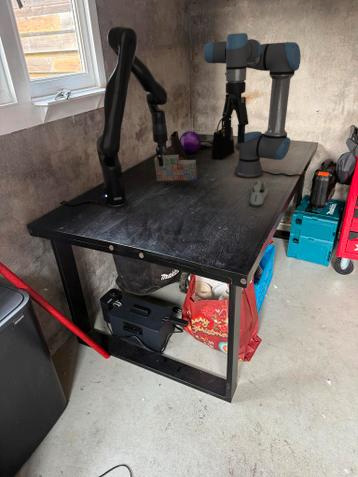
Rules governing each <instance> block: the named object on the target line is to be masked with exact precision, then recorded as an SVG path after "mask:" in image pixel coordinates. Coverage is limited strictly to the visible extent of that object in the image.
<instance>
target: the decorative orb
mask: <svg viewBox="0 0 358 477" xmlns="http://www.w3.org/2000/svg"><path fill="white" fill-rule="evenodd" d="M201 140H202V139H201V137H200V135H199V134H198V133H197V132H195V131H192V130H187V131H185V132H184V133H182V135H181V136H180V137H179V141H180V144H181V148H182V151H184V152H185V153H186V154H194V153H196V152H197V151H198V150H199V149H201V148H200V145H201Z"/></svg>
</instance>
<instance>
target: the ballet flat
mask: <svg viewBox="0 0 358 477" xmlns="http://www.w3.org/2000/svg"><path fill="white" fill-rule="evenodd" d="M268 194H269V189H268V186H267V183H266V182H265V181H264V180H262V179H257V180H255V181H254V182H253V184H252V187H251V190H250V196H249V204H250V205H251V206H252V207H260V206H261V205H263V203H264V201H265V198H266V196H267V195H268Z"/></svg>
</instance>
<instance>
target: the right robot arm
mask: <svg viewBox="0 0 358 477" xmlns="http://www.w3.org/2000/svg"><path fill="white" fill-rule="evenodd" d="M203 58H204V61H205V62H206V63H207V64H225V72H224V75H225V81H226V83H225V100H224V103H223V104H224V105H223V108H222V109H223V110H222V115H221V117H224V119H225V126H224V136H230V135H231V127H232V119H233V117H232V115H233V112H234V111H235V114H236V119H237V122H238V124H237V140H236V143H239V150H238V162H237V165H236V166H234V169H235V170H234V174H235V176H236V177H239V178H243V179H255V178H259V177H261V176H262V175H263V174H268V175H272V176H280V175H281V176H286V177H301V178H305V177H304V175H302V174H300V173H295V174H287V173H285V172H278V173H274V172H270V171H265V170H263V169H262V165H261V159H267V160H268V159H269V160H274V161H275V160H276V161H282V160H284V159H285V157H286V156H287V154H288V152H289V150H290V146H291V138H290V137H288V132H287V131H286V121H287V113H288V106H289V96H290V87H291V79H292V78H293V77H294V76H295V73H296V71H298V70H299V69H300V65H301V49H300V46H299V44H298V43H297V42H293V41H284V42H271V43H269V42H268V43H262V44H261V42H260V41H259V40H257V39H254V38H249V35H248V34H247V33H246V32H241V33H240V32H238V33H229V34H227V36H226V41H211V42H207V43H206V44H205V45H204V48H203ZM247 69H252V70H257V71H260V72H261V71H263V72H269V73H268V76H269V77H270V78H271V87H270V98H269V110H268V119H267V120H268V122H267V130H265V131H264V133H263V134H264V136H263V135H262V132H261V131H259V130H258V131H249V132H246V126H247V125H249V117H248V111H247V98H246V97H245V96H242V95H243V94H244V93H246V91H247V90H246V87H247V83H246V81H247Z"/></svg>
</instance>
